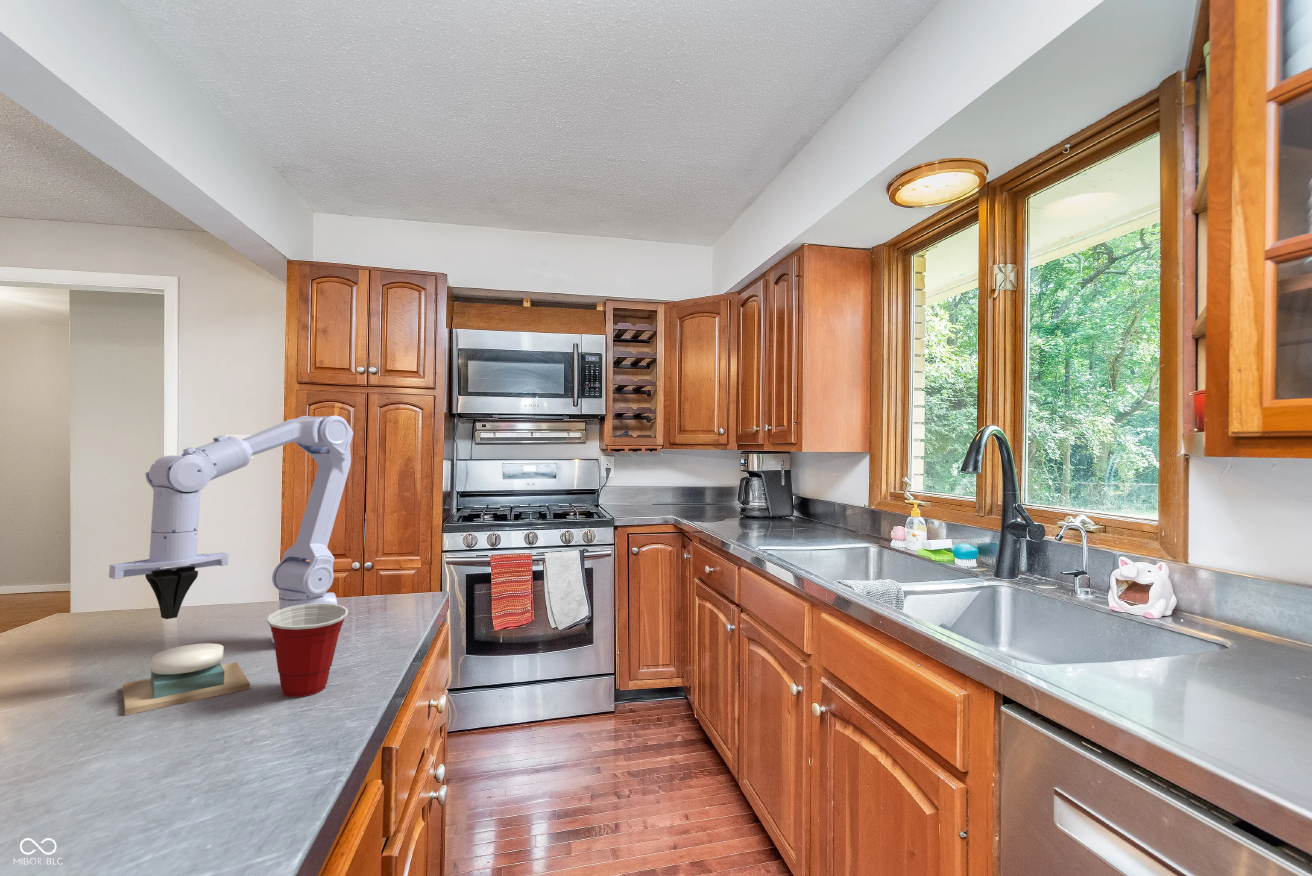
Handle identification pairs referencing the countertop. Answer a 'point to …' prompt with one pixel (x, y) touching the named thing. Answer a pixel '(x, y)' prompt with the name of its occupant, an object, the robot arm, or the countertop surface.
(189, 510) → the robot arm
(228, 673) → the dispenser base
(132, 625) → the countertop surface
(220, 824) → the countertop surface
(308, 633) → the plastic cup
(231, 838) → the countertop surface
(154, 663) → the disc
